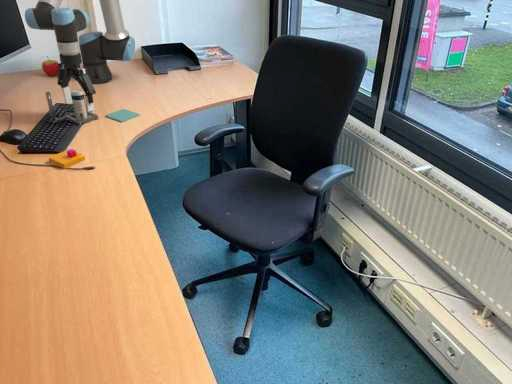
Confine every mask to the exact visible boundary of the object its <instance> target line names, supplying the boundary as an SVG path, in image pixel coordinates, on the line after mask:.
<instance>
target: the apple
mask: <svg viewBox="0 0 512 384" xmlns="http://www.w3.org/2000/svg"><path fill="white" fill-rule="evenodd" d="M46 57H47V59H48V60H44V61H42V62H41V68H42V70H43V72H44V74H46V75H47V76H49V77H55V76H58V73H59V65H58V64H59V62H58V61H56V60H53V59H51V60H50V59H49V57H48V55H46Z"/></svg>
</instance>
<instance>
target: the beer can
mask: <svg viewBox="0 0 512 384" xmlns="http://www.w3.org/2000/svg"><path fill="white" fill-rule="evenodd" d="M70 92H71V97H72V107H73V113H75V117H74V118H75V119H78V120H82V119H85V118H87V117H89V115H88V114H87V106H86V100H85V92H84V91H83V89H73V90H71V91H70Z"/></svg>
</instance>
